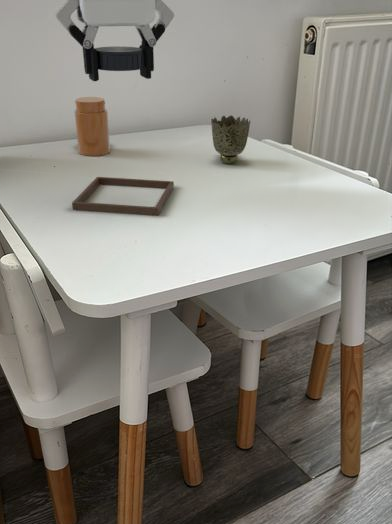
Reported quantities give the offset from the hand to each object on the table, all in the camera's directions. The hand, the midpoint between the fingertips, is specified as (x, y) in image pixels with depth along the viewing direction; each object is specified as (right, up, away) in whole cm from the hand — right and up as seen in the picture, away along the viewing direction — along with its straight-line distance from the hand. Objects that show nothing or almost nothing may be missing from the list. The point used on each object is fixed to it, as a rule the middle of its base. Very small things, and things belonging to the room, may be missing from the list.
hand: (120, 77), depth 79 cm
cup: (+17, -2, +31) cm, 36 cm away
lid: (0, +3, -2) cm, 3 cm away
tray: (0, -15, +10) cm, 18 cm away
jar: (-10, +2, +36) cm, 37 cm away
